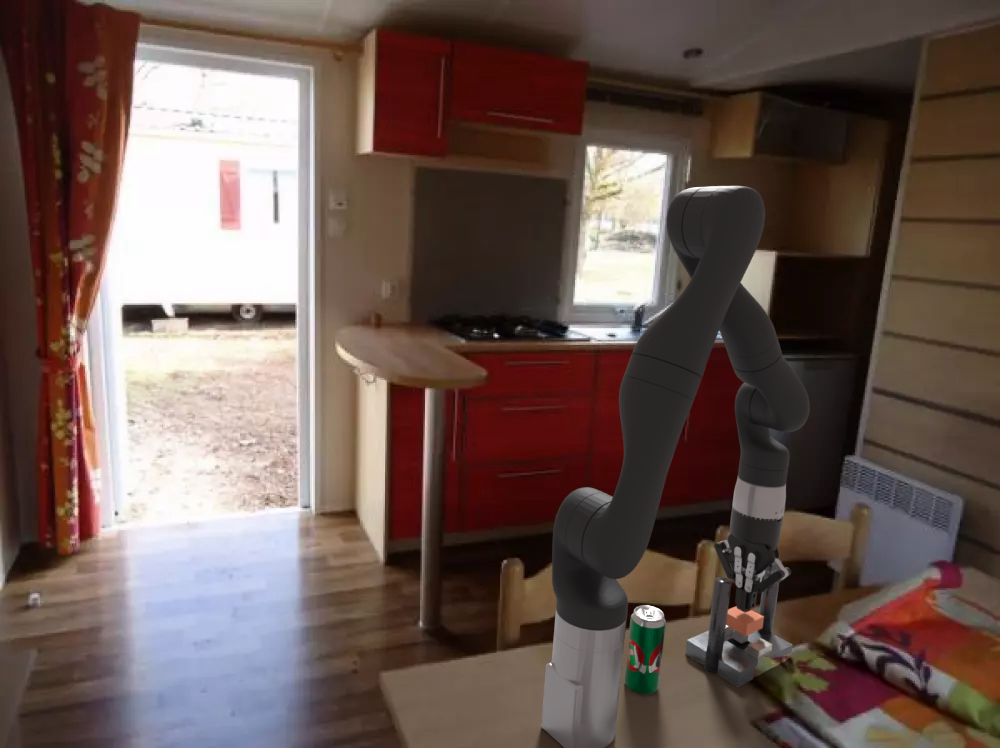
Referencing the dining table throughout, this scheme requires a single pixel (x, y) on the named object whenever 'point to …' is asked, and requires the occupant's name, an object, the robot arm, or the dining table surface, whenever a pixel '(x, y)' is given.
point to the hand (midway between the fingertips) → (744, 609)
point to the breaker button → (743, 623)
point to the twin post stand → (727, 652)
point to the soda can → (645, 650)
